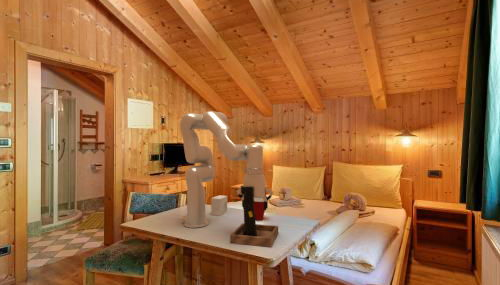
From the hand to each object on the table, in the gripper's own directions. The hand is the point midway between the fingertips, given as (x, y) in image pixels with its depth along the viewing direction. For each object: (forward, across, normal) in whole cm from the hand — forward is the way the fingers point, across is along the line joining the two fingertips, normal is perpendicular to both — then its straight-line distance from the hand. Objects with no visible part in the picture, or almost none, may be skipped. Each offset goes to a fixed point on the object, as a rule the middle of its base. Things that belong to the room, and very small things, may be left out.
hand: (254, 209), depth 119 cm
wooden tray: (+13, 0, 0) cm, 13 cm away
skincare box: (+14, -33, +37) cm, 51 cm away
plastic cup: (+14, -6, +30) cm, 33 cm away
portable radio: (+12, -2, -2) cm, 12 cm away
